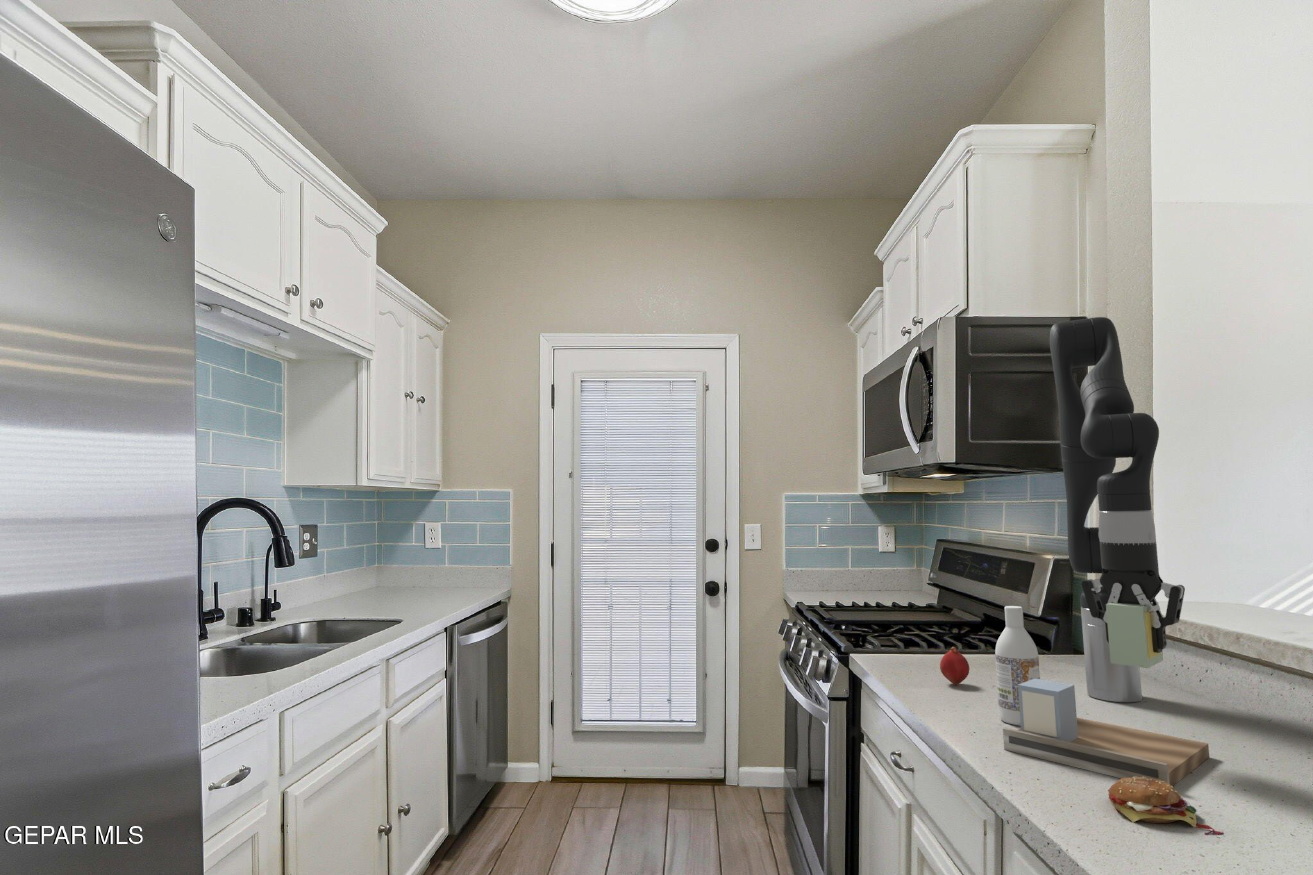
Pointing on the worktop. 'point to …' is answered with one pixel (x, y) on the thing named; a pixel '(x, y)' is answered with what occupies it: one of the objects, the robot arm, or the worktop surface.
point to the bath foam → (1014, 664)
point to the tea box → (1131, 635)
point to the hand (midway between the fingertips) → (1136, 648)
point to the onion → (954, 666)
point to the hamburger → (1152, 802)
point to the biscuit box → (1048, 709)
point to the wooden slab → (1114, 751)
